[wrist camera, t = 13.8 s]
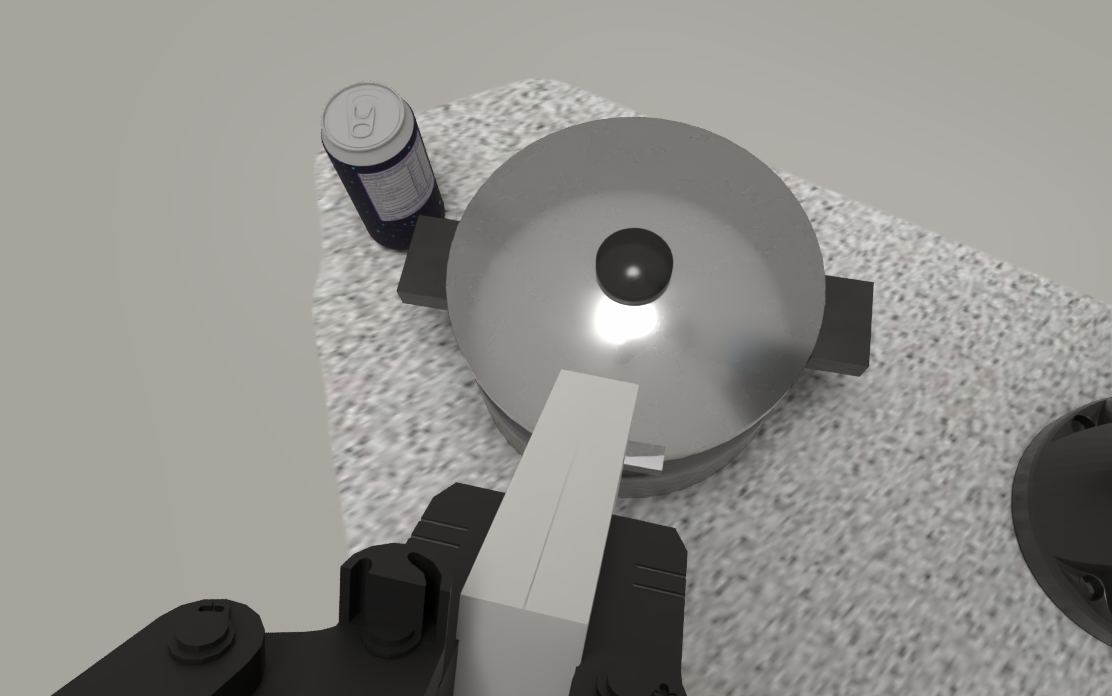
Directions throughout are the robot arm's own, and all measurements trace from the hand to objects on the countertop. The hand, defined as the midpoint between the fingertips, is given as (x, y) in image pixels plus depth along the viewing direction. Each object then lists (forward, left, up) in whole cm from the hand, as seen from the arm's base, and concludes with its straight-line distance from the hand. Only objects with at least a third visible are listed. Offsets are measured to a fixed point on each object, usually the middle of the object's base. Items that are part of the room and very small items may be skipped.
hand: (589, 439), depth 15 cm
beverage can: (+18, -23, -35) cm, 45 cm away
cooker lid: (+1, -15, -24) cm, 29 cm away
